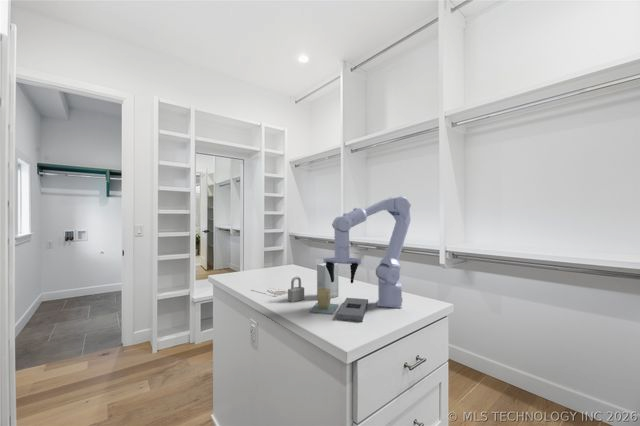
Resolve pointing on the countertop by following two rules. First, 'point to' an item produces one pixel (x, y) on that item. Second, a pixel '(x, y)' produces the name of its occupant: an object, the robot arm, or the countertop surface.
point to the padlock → (295, 291)
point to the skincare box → (327, 279)
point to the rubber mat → (324, 311)
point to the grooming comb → (277, 292)
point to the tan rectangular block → (324, 298)
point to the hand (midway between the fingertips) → (342, 282)
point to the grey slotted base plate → (353, 309)
